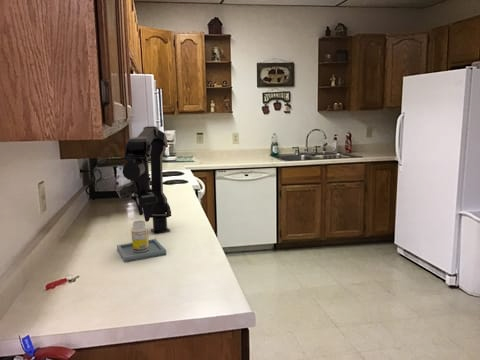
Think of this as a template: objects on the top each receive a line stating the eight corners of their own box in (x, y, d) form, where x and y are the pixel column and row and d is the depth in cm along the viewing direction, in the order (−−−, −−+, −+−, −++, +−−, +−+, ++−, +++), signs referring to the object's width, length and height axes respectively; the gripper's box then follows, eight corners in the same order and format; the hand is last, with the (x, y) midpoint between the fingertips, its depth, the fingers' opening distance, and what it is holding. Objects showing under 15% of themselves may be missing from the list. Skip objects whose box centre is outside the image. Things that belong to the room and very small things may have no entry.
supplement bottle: (139, 246, 148) (137, 219, 146) (152, 248, 145) (150, 220, 143) (129, 251, 143) (127, 223, 141) (142, 253, 140) (140, 224, 138)
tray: (117, 250, 147) (116, 245, 147) (155, 243, 153) (155, 238, 153) (124, 262, 135) (124, 257, 134) (166, 254, 141) (165, 249, 140)
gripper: (112, 173, 147) (116, 215, 150) (121, 181, 130) (125, 228, 133) (143, 170, 152) (146, 211, 154) (156, 177, 135) (159, 223, 138)
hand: (143, 218), depth 145 cm, fingers open, 9 cm apart
